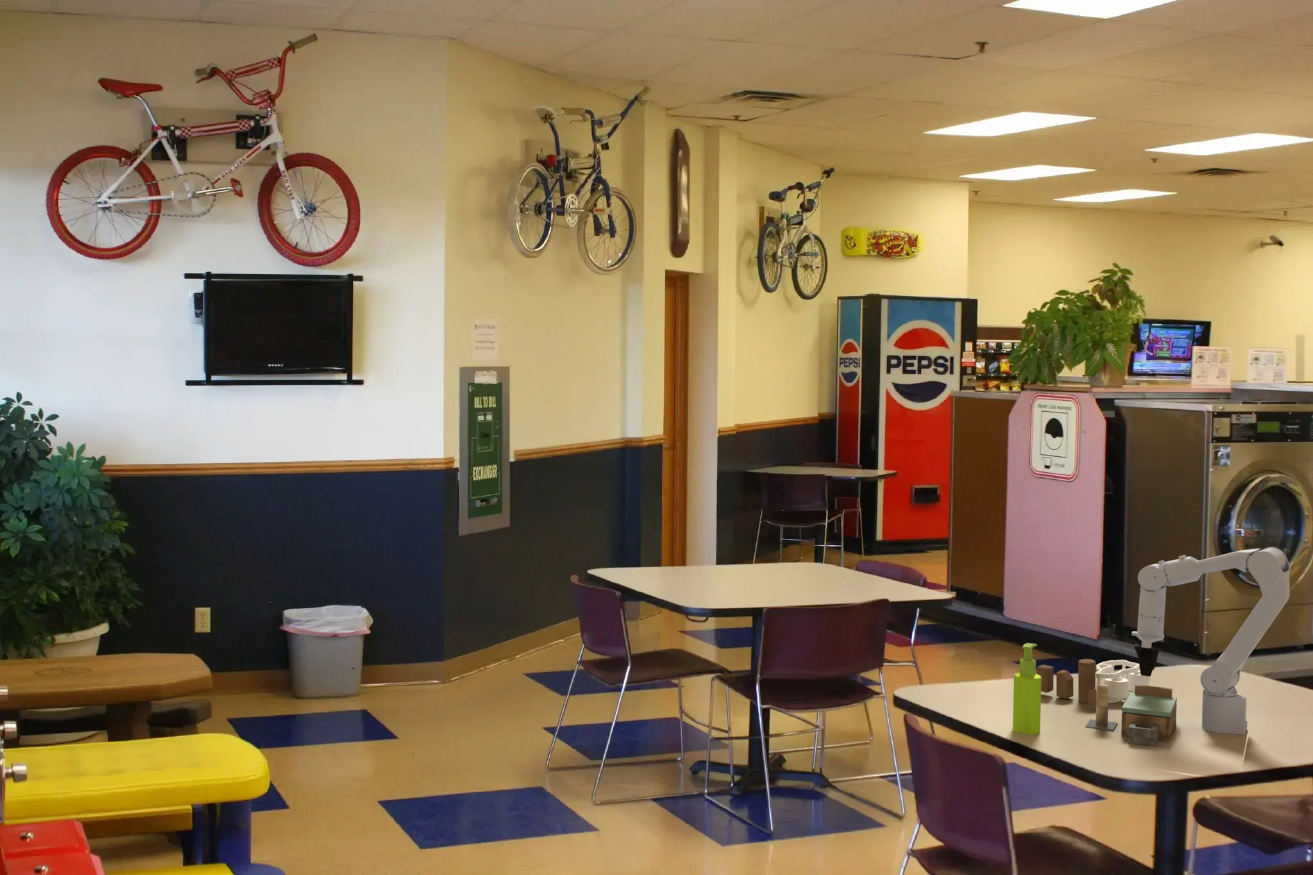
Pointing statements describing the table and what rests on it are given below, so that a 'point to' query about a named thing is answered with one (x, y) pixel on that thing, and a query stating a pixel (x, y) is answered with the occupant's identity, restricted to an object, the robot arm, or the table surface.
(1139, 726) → the toolbox
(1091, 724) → the mat
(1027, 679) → the soap dispenser
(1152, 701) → the toolbox lid
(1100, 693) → the beige banded cylinder
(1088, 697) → the wooden block set
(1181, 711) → the table surface
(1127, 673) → the wheeled car silhouette
